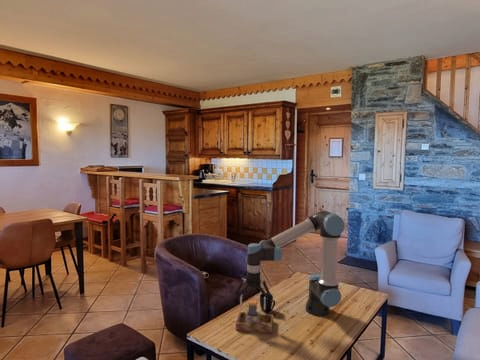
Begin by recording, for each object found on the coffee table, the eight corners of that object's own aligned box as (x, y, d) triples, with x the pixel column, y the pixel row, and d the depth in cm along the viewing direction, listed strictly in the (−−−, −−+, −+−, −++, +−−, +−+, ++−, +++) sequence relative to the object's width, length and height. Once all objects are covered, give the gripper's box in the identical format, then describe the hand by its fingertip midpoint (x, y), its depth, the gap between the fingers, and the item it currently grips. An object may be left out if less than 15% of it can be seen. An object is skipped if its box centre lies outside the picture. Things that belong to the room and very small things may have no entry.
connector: (256, 319, 188) (256, 300, 187) (255, 322, 184) (256, 303, 183) (249, 318, 189) (249, 299, 188) (248, 321, 185) (248, 302, 184)
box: (273, 321, 192) (273, 309, 191) (271, 334, 178) (271, 321, 177) (239, 318, 195) (239, 306, 194) (235, 330, 181) (235, 317, 181)
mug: (268, 317, 197) (269, 301, 196) (256, 309, 207) (257, 294, 206) (279, 313, 201) (279, 298, 201) (266, 306, 211) (267, 291, 211)
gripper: (276, 270, 186) (275, 306, 188) (233, 267, 190) (232, 302, 192) (275, 275, 179) (274, 312, 180) (230, 271, 183) (230, 308, 184)
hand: (252, 307), depth 186 cm, fingers open, 13 cm apart
